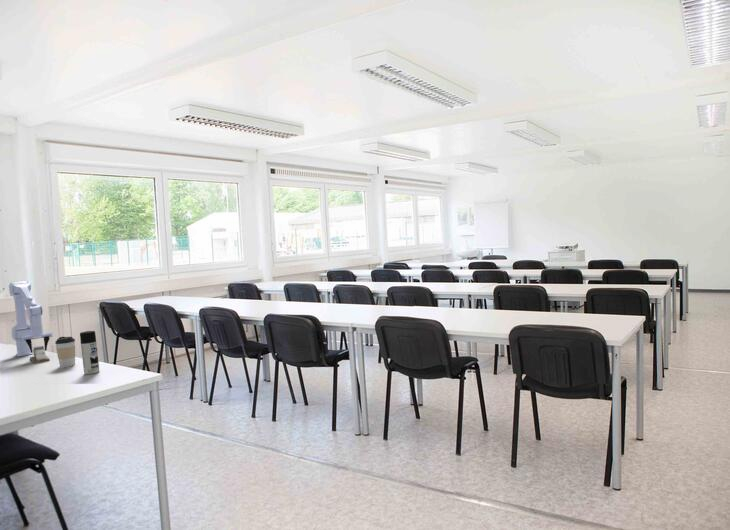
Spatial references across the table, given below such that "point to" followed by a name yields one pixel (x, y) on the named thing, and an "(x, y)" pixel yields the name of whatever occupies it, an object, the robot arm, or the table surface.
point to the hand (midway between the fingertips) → (38, 351)
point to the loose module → (37, 349)
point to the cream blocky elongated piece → (39, 356)
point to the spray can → (89, 352)
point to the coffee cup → (66, 351)
